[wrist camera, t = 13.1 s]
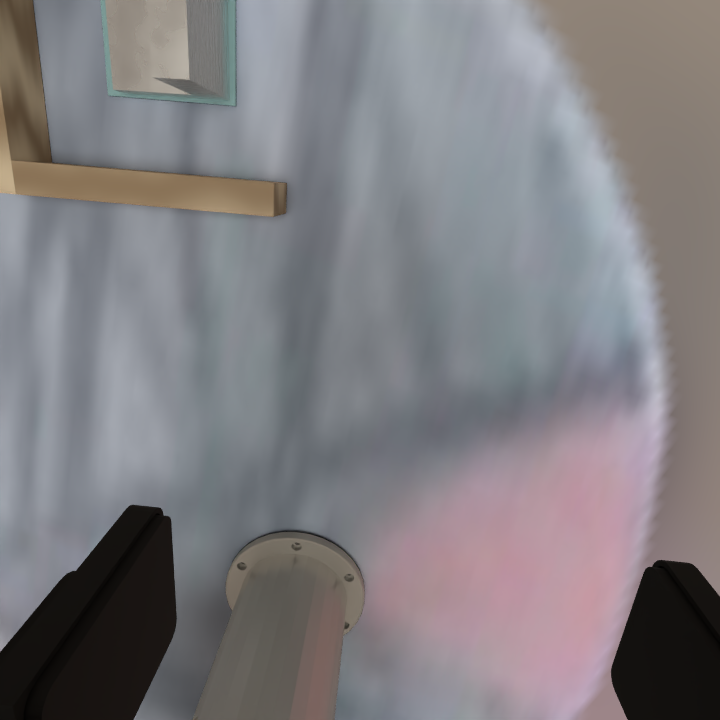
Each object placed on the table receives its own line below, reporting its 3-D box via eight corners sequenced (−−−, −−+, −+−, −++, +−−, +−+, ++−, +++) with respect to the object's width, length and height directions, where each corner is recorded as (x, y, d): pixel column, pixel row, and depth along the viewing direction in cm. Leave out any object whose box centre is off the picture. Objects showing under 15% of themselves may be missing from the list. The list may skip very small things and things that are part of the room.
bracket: (230, 100, 33) (189, 79, 26) (124, 93, 33) (58, 71, 26) (227, -49, 30) (181, -114, 23) (112, -55, 30) (35, -121, 24)
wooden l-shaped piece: (285, 213, 35) (273, 216, 31) (27, 190, 36) (-15, 191, 32) (298, -200, 28) (283, -261, 24) (-28, -221, 28) (-93, -283, 24)
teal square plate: (236, 106, 33) (235, 105, 33) (109, 95, 33) (108, 95, 33) (235, -61, 30) (235, -63, 30) (96, -71, 30) (94, -73, 30)
